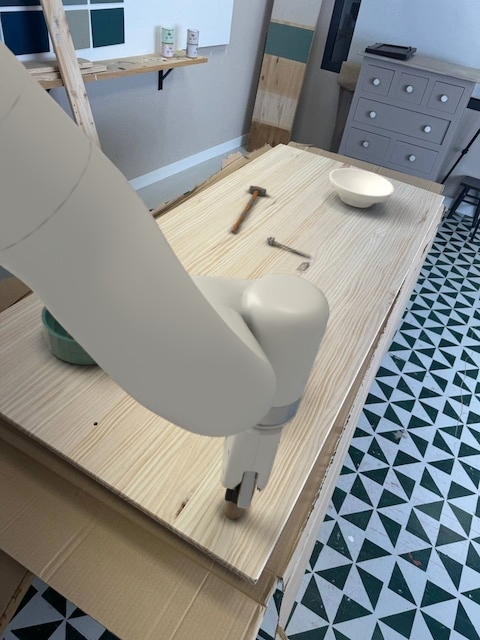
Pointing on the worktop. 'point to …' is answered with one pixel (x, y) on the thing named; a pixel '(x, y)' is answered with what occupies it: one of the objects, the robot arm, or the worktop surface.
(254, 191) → the sledgehammer
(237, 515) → the stick
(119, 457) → the worktop surface
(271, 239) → the screw
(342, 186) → the bowl
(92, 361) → the mixing bowl
